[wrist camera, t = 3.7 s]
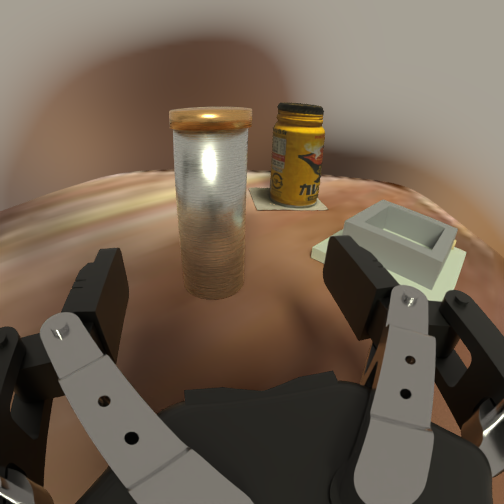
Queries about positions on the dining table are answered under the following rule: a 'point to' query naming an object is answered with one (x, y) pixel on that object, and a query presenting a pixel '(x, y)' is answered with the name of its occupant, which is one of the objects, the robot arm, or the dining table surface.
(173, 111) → the glass storage jar
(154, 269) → the dining table surface
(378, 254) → the dock
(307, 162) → the condiment
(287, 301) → the dining table surface
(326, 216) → the dining table surface
